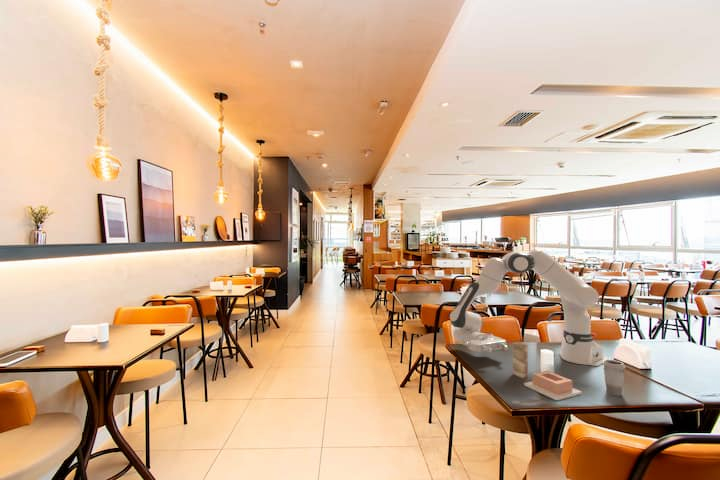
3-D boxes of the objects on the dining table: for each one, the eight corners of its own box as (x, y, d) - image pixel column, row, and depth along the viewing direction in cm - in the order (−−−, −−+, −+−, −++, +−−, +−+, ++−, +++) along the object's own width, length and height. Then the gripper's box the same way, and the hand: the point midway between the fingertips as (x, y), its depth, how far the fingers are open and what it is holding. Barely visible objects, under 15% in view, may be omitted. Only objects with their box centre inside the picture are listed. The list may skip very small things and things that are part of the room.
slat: (518, 373, 145) (518, 341, 145) (527, 377, 140) (527, 345, 140) (513, 374, 143) (513, 342, 144) (522, 378, 139) (522, 345, 139)
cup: (623, 391, 126) (623, 361, 127) (627, 398, 121) (627, 366, 121) (601, 387, 130) (601, 357, 130) (603, 394, 124) (603, 362, 124)
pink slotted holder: (548, 380, 137) (548, 368, 137) (581, 394, 124) (581, 381, 124) (524, 385, 132) (524, 373, 132) (556, 400, 119) (556, 386, 119)
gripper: (462, 337, 162) (482, 345, 149) (493, 333, 169) (515, 340, 157) (462, 349, 162) (482, 358, 149) (493, 345, 169) (515, 353, 157)
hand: (499, 349), depth 153 cm, fingers open, 8 cm apart
